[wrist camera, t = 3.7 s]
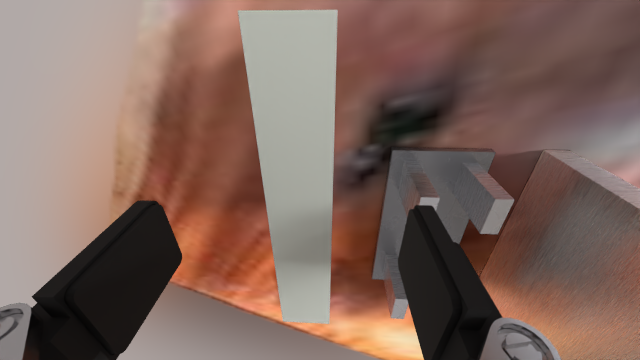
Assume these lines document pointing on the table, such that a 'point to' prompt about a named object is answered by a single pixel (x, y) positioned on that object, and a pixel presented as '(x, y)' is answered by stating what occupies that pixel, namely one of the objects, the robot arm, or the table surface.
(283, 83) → the door panel
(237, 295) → the table surface
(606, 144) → the table surface
